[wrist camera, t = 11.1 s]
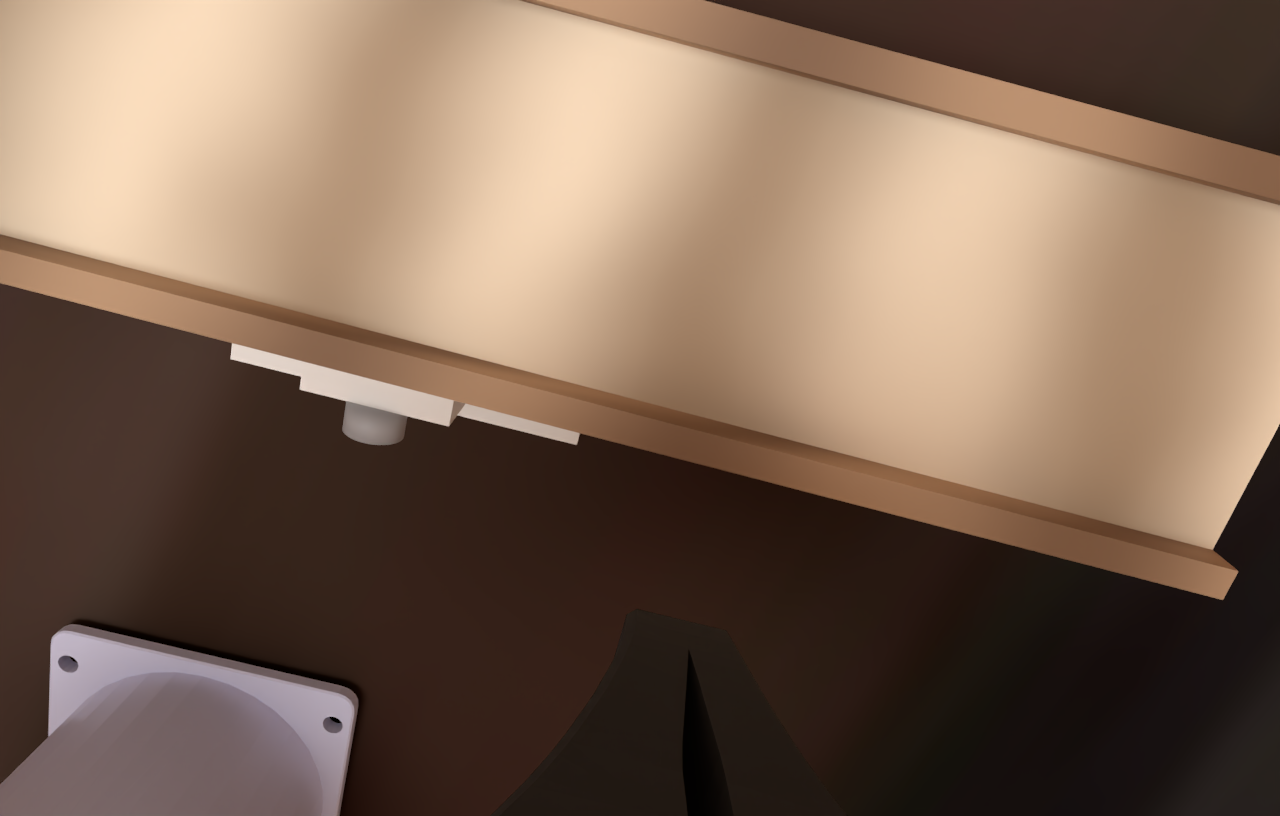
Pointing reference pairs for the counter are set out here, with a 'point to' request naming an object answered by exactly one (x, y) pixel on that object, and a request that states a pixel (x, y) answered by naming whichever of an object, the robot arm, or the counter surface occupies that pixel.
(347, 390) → the fulcrum stand
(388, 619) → the counter surface
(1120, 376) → the beam
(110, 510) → the counter surface
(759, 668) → the counter surface
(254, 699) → the robot arm
